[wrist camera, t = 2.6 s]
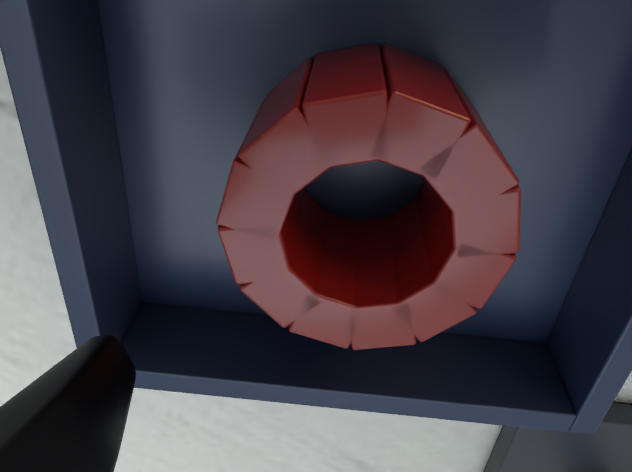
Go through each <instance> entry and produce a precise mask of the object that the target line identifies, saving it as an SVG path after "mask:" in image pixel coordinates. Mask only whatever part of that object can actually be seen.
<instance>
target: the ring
mask: <svg viewBox="0 0 632 472" xmlns="http://www.w3.org/2000/svg"><path fill="white" fill-rule="evenodd" d="M373 161H381V162H384V163H387V164H390V165H392V166H395V167H398V168H401V169H404V170H406V171H409V172H412V173H415V174H418V175H421V176H423V177H424V178H425V179H426V181H425V183H424V185H423V187H422V189H421V191H420V193H419V195H418V197H417V199H416V200H414V201H413V202H411V203H410V204H408V205H407V206H405V207H404V208H402V209H401V210H399V211H398V212H396V213H395V214H393V215H392V216H390V217H386V218H378V219H370V220H362V221H353V220H350V219H347V218H344V217H341V216H339V215H336V214H333V213H330V212H327V211H325V210H324V209H323V208H322V207H321V206H320V205H319V204H318V203H317V202H316V200H315V199H314V198H313V197H312V196H311V195H310V194H309V193H308V192H307V191H306V190H305V187H306V186H307V185H308V184H310V183H311V182H312V181H314V180H315V179H316V178H318V177H319V176H320V175H322V174H323V173H324V172H326V171H327V170H328V169H330V168H332V167H339V166H346V165H353V164H359V163H366V162H373ZM518 184H519V179H518V178H517V176H516V175H515V173H514V171H513V170H512V168H511V166H510V165H509V163H508V161H507V160H506V158H505V156H504V155H503V153H502V152H501V150H500V148H499V147H498V145H497V143H496V142H495V140H494V138H493V137H492V135H491V133H490V132H489V130H488V129H487V127H486V125H485V124H484V122H483V120H482V119H481V117H480V115H479V114H478V112H477V111H476V110H475V108H474V107H473V105H472V104H471V103H470V101H469V100H468V98H467V97H466V95H465V94H464V93H463V91H462V90H461V88H460V87H459V86H458V84H457V83H456V81H455V80H454V79H453V77H452V76H451V74H450V73H449V72H448V70H447V69H444V70H443V68H442V66H441V65H440V64H437V63H435V62H432V61H430V60H427V59H424V58H422V57H419V56H417V55H414V54H411V53H409V52H406V51H404V50H401V49H399V48H396V47H393V46H391V45H388V44H383V45H382V47H381V49H380V48H379V45H378V43H372V44H366V45H361V46H356V47H350V48H345V49H339V50H334V51H328V52H323V53H318V54H316V57H315V60H314V59H313V58H312V57H309V58H308V59H307V60H306V61H304V62H303V63H302V64H301V65H300V66H299V67H298V68H296V69H295V70H294V71H293V72H292V73H291V74H290V75H289V76H287V77H286V78H285V79H284V80H283V81H282V82H281V83H279V84H278V85H277V86H276V87H275V88H274V89H273V90H272V91H270V92H269V93H268V94H267V96H266V98H265V100H263V101H262V104H261V106H260V108H259V110H258V112H257V114H256V116H255V118H254V120H253V122H252V124H251V126H250V128H249V130H248V132H247V134H246V136H245V138H244V140H243V142H242V144H241V146H240V148H239V150H238V152H237V155H236V157H235V159H234V161H233V163H232V167H231V170H230V174H229V177H228V181H227V185H226V188H225V192H224V195H223V199H222V202H221V206H220V209H219V213H218V217H217V220H216V223H217V224H218V225H219V226H218V229H217V231H218V234H219V237H220V240H221V242H222V245H223V248H224V251H225V254H226V257H227V260H228V263H229V266H230V269H231V272H232V275H233V277H234V280H235V283H236V284H238V285H240V284H241V286H240V290H241V291H242V292H243V293H244V294H245V295H246V296H247V297H248V298H250V299H251V300H252V301H253V302H254V303H255V304H256V305H258V306H259V307H260V308H261V309H262V310H263V311H264V312H266V313H267V314H268V315H269V316H270V317H271V318H272V319H273V320H275V321H276V322H277V323H278V324H279V325H280V326H281V327H283V328H285V327H287V326H289V331H290V332H292V333H296V334H299V335H302V336H305V337H309V338H312V339H315V340H319V341H322V342H325V343H329V344H332V345H335V346H339V347H342V348H345V349H346V348H348V347H349V346H350V344H351V345H352V349H353V350H360V349H371V348H383V347H394V346H405V345H415V344H416V338H417V339H418V340H419V341H420V342H424V341H426V340H428V339H429V338H431V337H433V336H435V335H437V334H439V333H441V332H443V331H445V330H447V329H448V328H450V327H452V326H454V325H456V324H458V323H460V322H462V321H464V320H466V319H467V318H469V317H471V316H473V315H475V314H476V313H477V310H476V308H483V306H484V305H485V304H486V302H487V301H488V299H489V298H490V296H491V295H492V294H493V292H494V291H495V289H496V288H497V287H498V285H499V284H500V282H501V281H502V279H503V278H504V277H505V275H506V274H507V272H508V271H509V270H510V268H511V267H512V265H513V264H514V262H515V261H516V258H517V257H516V255H515V253H518V252H519V250H520V222H521V189H520V187H519V185H518Z"/></svg>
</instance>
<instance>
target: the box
mask: <svg viewBox="0 0 632 472" xmlns="http://www.w3.org/2000/svg"><path fill="white" fill-rule="evenodd" d="M372 43H378V45H379V48H380V49H381V47H382V45H383V44H388V45H391V46H393V47H396V48H399V49H401V50H404V51H406V52H409V53H411V54H414V55H417V56H419V57H422V58H424V59H427V60H430V61H432V62H435V63H437V64H440V65H441V66H442V68H443V70H444V69H447V70H448V72H449V73H450V74H451V76H452V77H453V79H454V80H455V81H456V83H457V84H458V86H459V87H460V88H461V90H462V91H463V93H464V94H465V95H466V97H467V98H468V100H469V101H470V103H471V104H472V105H473V107H474V108H475V110H476V111H477V112H478V114H479V115H480V117H481V119H482V120H483V122H484V124H485V125H486V127H487V129H488V130H489V132H490V133H491V135H492V137H493V138H494V140H495V142H496V143H497V145H498V147H499V148H500V150H501V152H502V153H503V155H504V156H505V158H506V160H507V161H508V163H509V165H510V166H511V168H512V170H513V171H514V173H515V175H516V176H517V178H518V179H519V184H518V185H519V187H520V189H521V222H520V250H519V252H518V253H515V255H516V257H517V258H516V261H515V262H514V264H513V265H512V267H511V268H510V270H509V271H508V272H507V274H506V275H505V277H504V278H503V279H502V281H501V282H500V284H499V285H498V287H497V288H496V289H495V291H494V292H493V294H492V295H491V296H490V298H489V299H488V301H487V302H486V304H485V305H484V306H483V308H476V310H477V313H476V314H475V315H473V316H471V317H469V318H467V319H466V320H464V321H462V322H460V323H458V324H456V325H454V326H452V327H450V328H448V329H447V330H445V331H443V332H441V333H439V334H437V335H435V336H433V337H431V338H429V339H428V340H426V341H424V342H420V341H419V340H418V339H417V338H416V344H415V345H405V346H394V347H383V348H371V349H360V350H353V349H352V345H351V344H350V346H349V347H348V348H346V349H345V348H342V347H339V346H335V345H332V344H329V343H325V342H322V341H319V340H315V339H312V338H309V337H305V336H302V335H299V334H296V333H292V332H290V331H289V326H287V327H285V328H283V327H281V326H280V325H279V324H278V323H277V322H276V321H275V320H273V319H272V318H271V317H270V316H269V315H268V314H267V313H266V312H264V311H263V310H262V309H261V308H260V307H259V306H258V305H256V304H255V303H254V302H253V301H252V300H251V299H250V298H248V297H247V296H246V295H245V294H244V293H243V292H242V291H241V290H240V286H241V284H240V285H238V284H236V283H235V280H234V277H233V275H232V272H231V269H230V266H229V263H228V260H227V257H226V254H225V251H224V248H223V245H222V242H221V240H220V237H219V234H218V231H217V229H218V226H219V225H218V224H217V223H216V220H217V217H218V213H219V209H220V206H221V202H222V199H223V195H224V192H225V188H226V185H227V181H228V177H229V174H230V170H231V167H232V163H233V161H234V159H235V157H236V155H237V152H238V150H239V148H240V146H241V144H242V142H243V140H244V138H245V136H246V134H247V132H248V130H249V128H250V126H251V124H252V122H253V120H254V118H255V116H256V114H257V112H258V110H259V108H260V106H261V104H262V101H263V100H265V98H266V96H267V94H268V93H269V92H270V91H272V90H273V89H274V88H275V87H276V86H277V85H278V84H279V83H281V82H282V81H283V80H284V79H285V78H286V77H287V76H289V75H290V74H291V73H292V72H293V71H294V70H295V69H296V68H298V67H299V66H300V65H301V64H302V63H303V62H304V61H306V60H307V59H308V58H309V57H312V58H313V59H314V60H315V57H316V54H318V53H323V52H328V51H334V50H339V49H345V48H350V47H356V46H361V45H366V44H372ZM0 48H1V51H2V55H3V59H4V63H5V67H6V71H7V75H8V79H9V83H10V87H11V91H12V95H13V99H14V103H15V107H16V111H17V114H18V118H19V122H20V126H21V130H22V134H23V138H24V142H25V146H26V150H27V154H28V158H29V162H30V166H31V170H32V173H33V177H34V181H35V185H36V189H37V193H38V197H39V201H40V205H41V209H42V213H43V217H44V221H45V225H46V229H47V232H48V236H49V240H50V244H51V248H52V252H53V256H54V260H55V264H56V268H57V272H58V276H59V280H60V284H61V288H62V291H63V295H64V299H65V303H66V307H67V311H68V315H69V319H70V323H71V327H72V331H73V335H74V339H75V343H76V347H77V348H78V347H80V346H81V345H82V344H84V343H85V342H86V341H88V340H89V339H90V338H92V337H95V336H101V335H116V336H118V337H119V338H120V340H121V341H122V343H123V345H124V347H125V349H126V351H127V353H128V355H129V356H130V358H131V360H132V362H133V364H134V366H135V370H136V379H135V384H134V388H144V389H154V390H164V391H173V392H183V393H193V394H203V395H212V396H222V397H232V398H242V399H251V400H261V401H271V402H281V403H290V404H300V405H310V406H320V407H329V408H339V409H349V410H359V411H368V412H378V413H388V414H398V415H407V416H417V417H427V418H437V419H446V420H456V421H466V422H476V423H485V424H495V425H505V426H515V427H524V428H534V429H544V430H554V431H563V432H568V430H569V431H570V432H577V433H586V434H594V433H595V432H596V430H597V428H598V427H599V425H600V423H601V422H602V420H603V418H604V416H605V415H606V413H607V411H608V410H609V408H610V406H611V405H612V403H613V401H614V400H615V398H616V396H617V394H618V393H619V391H620V389H621V388H622V386H623V384H624V383H625V381H626V379H627V378H628V376H629V374H630V372H631V371H632V0H0ZM425 181H426V179H425V178H424V177H423V176H421V175H418V174H415V173H412V172H409V171H406V170H404V169H401V168H398V167H395V166H392V165H390V164H387V163H384V162H381V161H373V162H366V163H359V164H353V165H346V166H339V167H332V168H330V169H328V170H327V171H326V172H324V173H323V174H322V175H320V176H319V177H318V178H316V179H315V180H314V181H312V182H311V183H310V184H308V185H307V186H306V187H305V190H306V191H307V192H308V193H309V194H310V195H311V196H312V197H313V198H314V199H315V200H316V202H317V203H318V204H319V205H320V206H321V207H322V208H323V209H324V210H325V211H327V212H330V213H333V214H336V215H339V216H341V217H344V218H347V219H350V220H353V221H362V220H370V219H378V218H386V217H390V216H392V215H393V214H395V213H396V212H398V211H399V210H401V209H402V208H404V207H405V206H407V205H408V204H410V203H411V202H413V201H414V200H416V199H417V197H418V195H419V193H420V191H421V189H422V187H423V185H424V183H425Z"/></svg>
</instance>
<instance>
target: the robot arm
mask: <svg viewBox="0 0 632 472" xmlns="http://www.w3.org/2000/svg"><path fill="white" fill-rule="evenodd" d="M135 379H136V370H135V366H134V364H133V362H132V360H131V358H130V356H129V355H128V353H127V351H126V349H125V347H124V345H123V343H122V341H121V340H120V338H119V337H118V336H116V335H101V336H95V337H92V338H90V339H89V340H88V341H86V342H85V343H84V344H82V345H81V346H80V347H78V348H77V349H76V350H74V351H73V352H72V353H70V354H69V355H68V356H67V357H65V358H64V359H63V360H61V361H60V362H59V363H57V364H56V365H55V366H53V367H52V368H51V369H49V370H48V371H47V372H45V373H44V374H43V375H42V376H40V377H39V378H38V379H36V380H35V381H34V382H32V383H31V384H30V385H28V386H27V387H26V388H24V389H23V390H22V391H20V392H19V393H18V394H17V395H15V396H14V397H13V398H11V399H10V400H9V401H7V402H6V403H5V404H3V405H2V406H1V407H0V472H113V471H114V468H115V465H116V461H117V458H118V454H119V450H120V446H121V442H122V437H123V433H124V429H125V424H126V420H127V415H128V411H129V406H130V402H131V398H132V393H133V389H134V384H135Z"/></svg>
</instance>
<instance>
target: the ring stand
mask: <svg viewBox="0 0 632 472" xmlns="http://www.w3.org/2000/svg"><path fill="white" fill-rule="evenodd" d="M484 472H632V405H630V404H620V403H612V405H611V406H610V408H609V410H608V411H607V413H606V415H605V416H604V418H603V420H602V422H601V423H600V425H599V427H598V428H597V430H596V432H595V433H594V434H586V433H577V432H570V431H569V430H568V432H563V431H554V430H544V429H534V428H524V427H515V426H505V425H504V426H503V429H502V431H501V433H500V436H499V438H498V440H497V443H496V445H495V447H494V450H493V452H492V454H491V457H490V459H489V461H488V464H487V466H486V468H485V471H484Z"/></svg>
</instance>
